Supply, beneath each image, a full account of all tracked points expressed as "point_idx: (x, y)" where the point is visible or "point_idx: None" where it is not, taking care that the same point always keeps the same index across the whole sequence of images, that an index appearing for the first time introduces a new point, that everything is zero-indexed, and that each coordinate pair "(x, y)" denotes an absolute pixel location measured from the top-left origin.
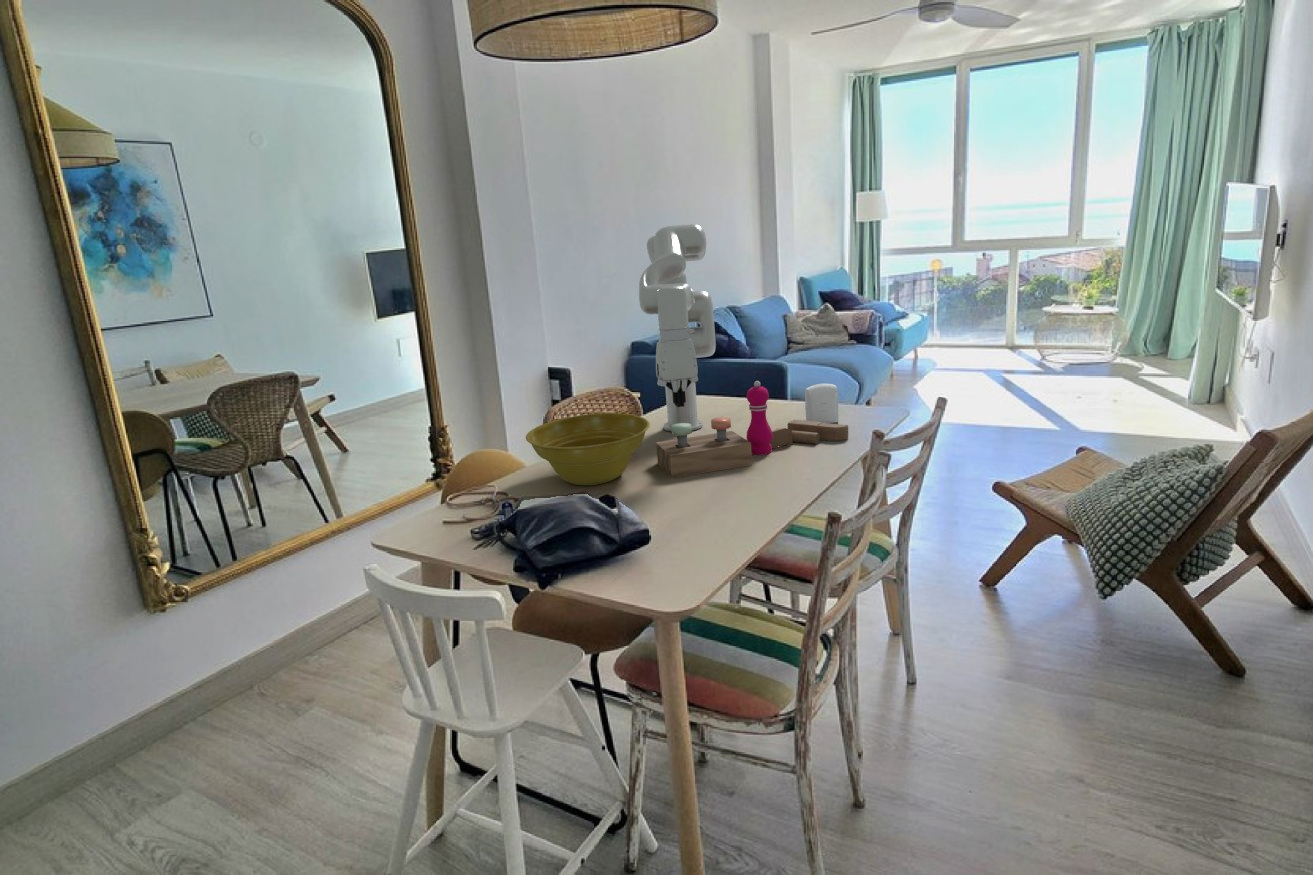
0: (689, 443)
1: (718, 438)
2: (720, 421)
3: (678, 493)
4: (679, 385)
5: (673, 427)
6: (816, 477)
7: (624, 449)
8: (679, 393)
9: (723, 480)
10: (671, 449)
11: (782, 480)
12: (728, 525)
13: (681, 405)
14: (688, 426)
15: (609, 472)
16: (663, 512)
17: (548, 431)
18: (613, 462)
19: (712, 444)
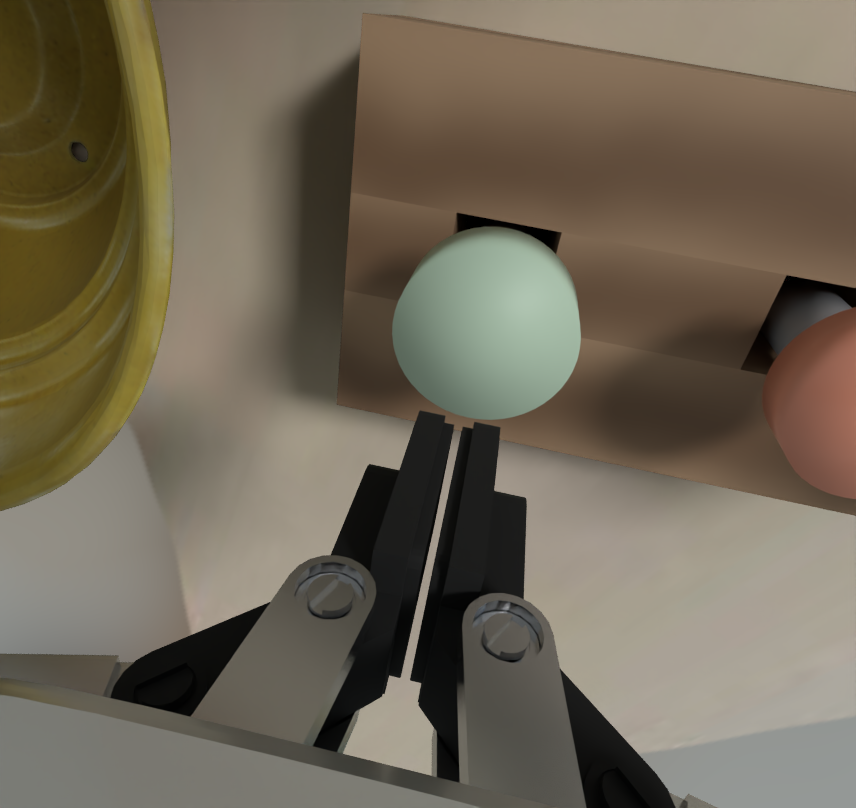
0: (568, 255)
1: (779, 352)
2: (836, 465)
3: (326, 505)
4: (462, 668)
5: (398, 346)
6: (846, 683)
7: (14, 428)
8: (393, 668)
9: (549, 506)
10: (392, 300)
11: (727, 634)
12: (358, 729)
13: (439, 537)
14: (519, 406)
15: (23, 278)
16: (230, 592)
17: None
18: (5, 328)
19: (673, 387)
